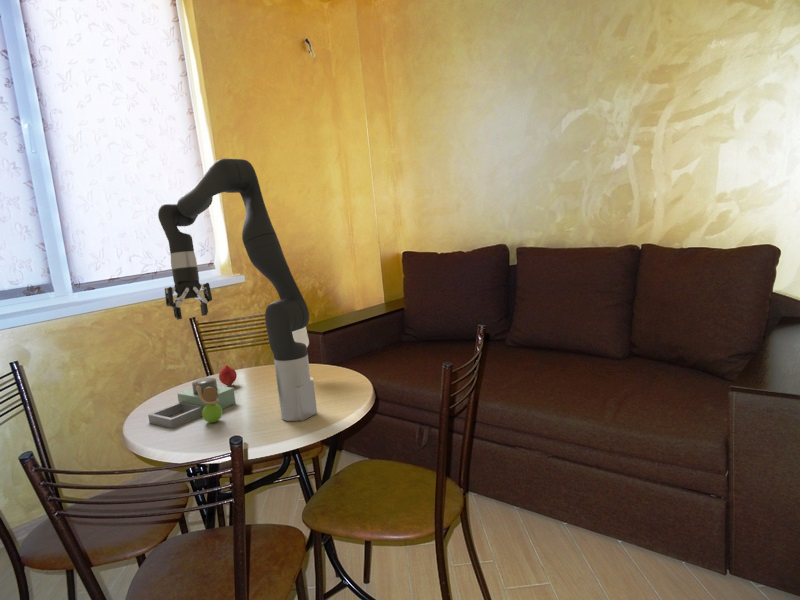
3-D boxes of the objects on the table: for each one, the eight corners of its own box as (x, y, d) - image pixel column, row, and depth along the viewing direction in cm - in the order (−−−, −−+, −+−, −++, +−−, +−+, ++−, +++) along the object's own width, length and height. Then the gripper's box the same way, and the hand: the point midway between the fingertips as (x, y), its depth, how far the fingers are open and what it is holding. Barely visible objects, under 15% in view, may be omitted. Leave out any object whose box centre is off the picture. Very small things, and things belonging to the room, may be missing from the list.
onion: (216, 388, 178) (213, 365, 177) (229, 382, 183) (226, 361, 182) (229, 389, 175) (225, 366, 174) (241, 384, 180) (238, 362, 179)
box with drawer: (235, 403, 161) (232, 378, 159) (175, 429, 143) (171, 401, 142) (206, 398, 168) (203, 374, 167) (146, 422, 151) (142, 395, 150)
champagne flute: (298, 377, 183) (290, 310, 179) (316, 376, 182) (308, 310, 178) (290, 383, 176) (282, 314, 173) (309, 382, 175) (300, 313, 171)
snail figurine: (205, 418, 149) (199, 379, 147) (226, 417, 148) (221, 378, 147) (196, 426, 144) (190, 385, 142) (218, 425, 143) (212, 384, 141)
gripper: (168, 267, 156) (176, 320, 156) (211, 264, 166) (218, 313, 167) (156, 269, 160) (164, 321, 161) (199, 266, 171) (206, 314, 172)
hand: (192, 317), depth 164 cm, fingers open, 8 cm apart
